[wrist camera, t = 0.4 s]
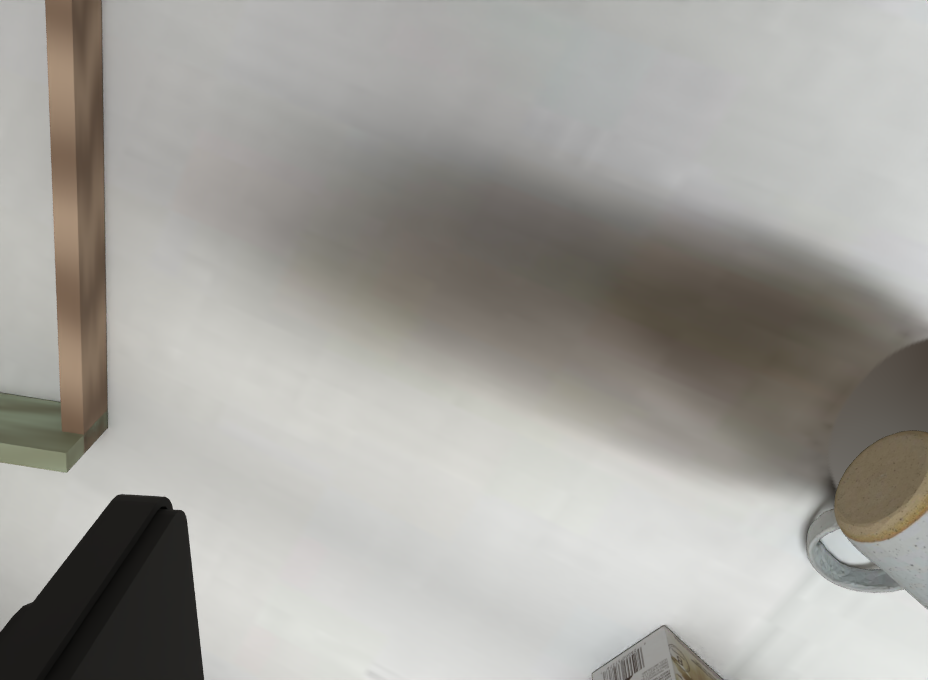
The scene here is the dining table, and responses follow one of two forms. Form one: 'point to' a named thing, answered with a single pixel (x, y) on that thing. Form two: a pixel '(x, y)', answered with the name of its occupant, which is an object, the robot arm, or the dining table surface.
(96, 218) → the track
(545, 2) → the dining table surface
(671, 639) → the coffee box
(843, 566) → the ceramic mug
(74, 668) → the robot arm
